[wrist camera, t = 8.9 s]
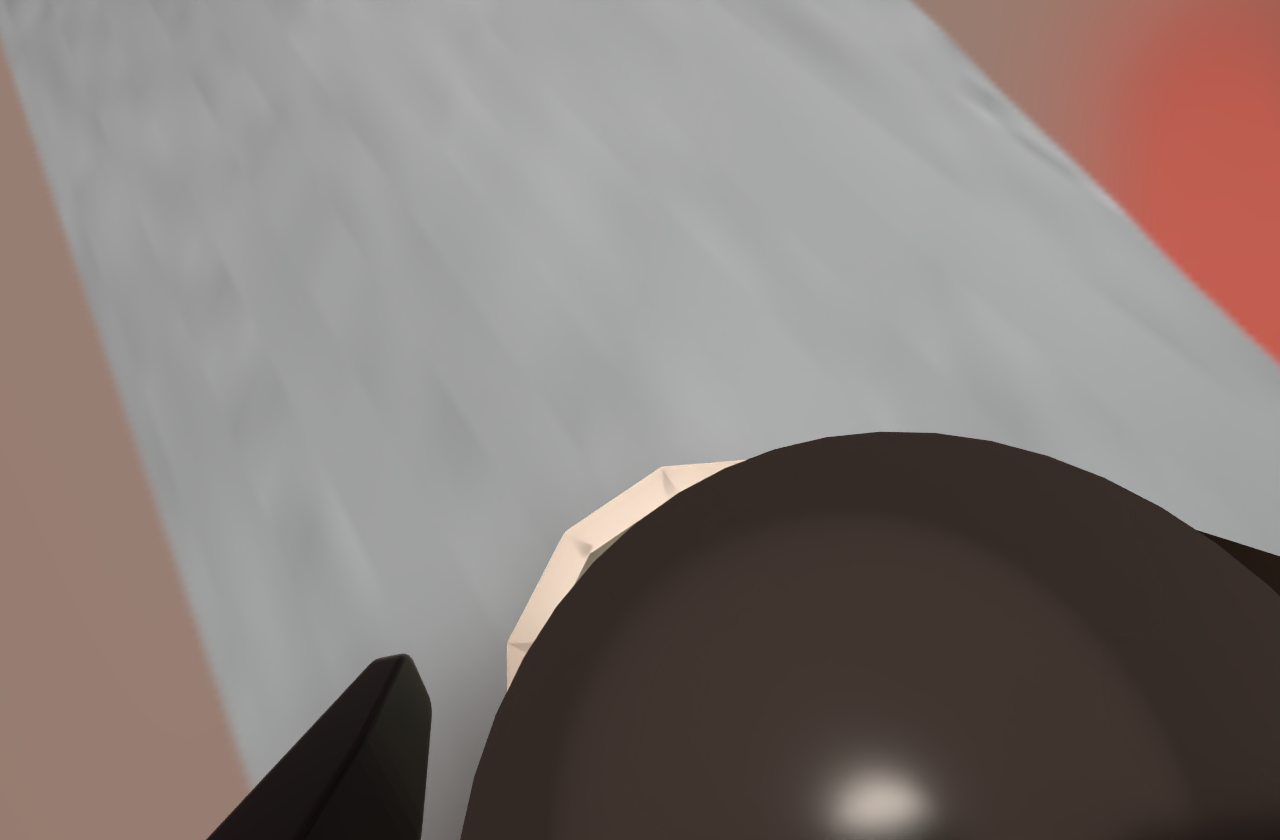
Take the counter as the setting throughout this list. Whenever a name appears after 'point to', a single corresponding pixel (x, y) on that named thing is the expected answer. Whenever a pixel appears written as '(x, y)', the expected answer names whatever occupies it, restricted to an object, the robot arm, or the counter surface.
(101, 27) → the counter surface
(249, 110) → the counter surface
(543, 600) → the bowl
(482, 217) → the counter surface
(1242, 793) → the canister
